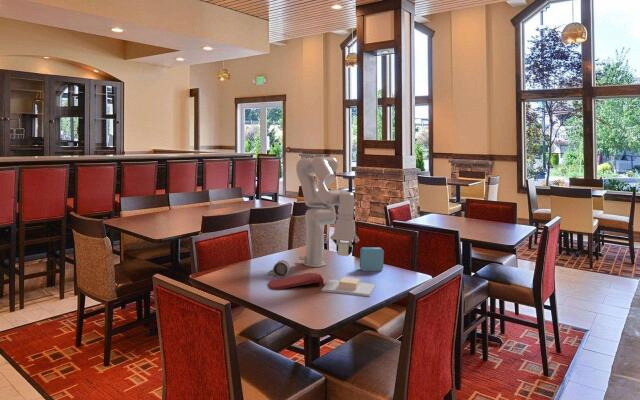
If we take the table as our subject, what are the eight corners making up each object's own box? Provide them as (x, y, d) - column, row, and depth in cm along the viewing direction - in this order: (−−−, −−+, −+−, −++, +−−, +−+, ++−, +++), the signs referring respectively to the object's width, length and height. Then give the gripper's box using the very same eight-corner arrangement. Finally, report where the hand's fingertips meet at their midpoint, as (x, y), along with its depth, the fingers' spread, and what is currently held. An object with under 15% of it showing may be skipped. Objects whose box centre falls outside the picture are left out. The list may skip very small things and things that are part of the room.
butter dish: (321, 291, 210) (322, 282, 210) (330, 281, 225) (330, 273, 225) (369, 296, 204) (369, 287, 204) (375, 286, 219) (375, 278, 219)
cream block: (337, 255, 228) (338, 243, 227) (340, 252, 233) (340, 241, 232) (347, 256, 227) (348, 244, 226) (349, 253, 232) (350, 242, 231)
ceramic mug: (290, 273, 239) (290, 258, 238) (287, 277, 231) (287, 262, 230) (269, 272, 239) (269, 258, 238) (266, 277, 231) (266, 262, 230)
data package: (381, 268, 252) (381, 247, 251) (383, 271, 248) (384, 249, 246) (359, 268, 251) (360, 247, 249) (361, 271, 246) (361, 249, 245)
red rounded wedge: (272, 298, 211) (325, 287, 216) (270, 287, 210) (323, 277, 215) (269, 290, 223) (319, 280, 227) (268, 280, 222) (318, 270, 227)
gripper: (327, 217, 226) (325, 253, 229) (361, 220, 221) (359, 257, 224) (330, 214, 233) (329, 249, 236) (364, 217, 229) (362, 253, 231)
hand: (344, 253), depth 230 cm, fingers closed on cream block, 4 cm apart
